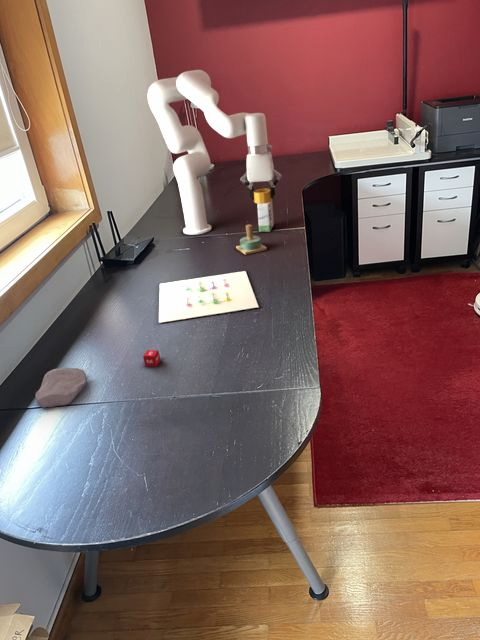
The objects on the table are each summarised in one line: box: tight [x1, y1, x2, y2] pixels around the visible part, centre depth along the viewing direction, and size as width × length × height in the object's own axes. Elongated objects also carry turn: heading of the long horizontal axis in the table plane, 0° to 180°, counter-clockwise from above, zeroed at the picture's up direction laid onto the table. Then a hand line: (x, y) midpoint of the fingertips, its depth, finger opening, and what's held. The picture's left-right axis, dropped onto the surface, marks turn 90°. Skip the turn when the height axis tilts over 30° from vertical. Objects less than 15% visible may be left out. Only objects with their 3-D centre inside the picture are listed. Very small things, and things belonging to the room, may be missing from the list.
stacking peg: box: [235, 224, 268, 256], centre depth 195 cm, size 9×9×9 cm
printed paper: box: [158, 270, 259, 324], centre depth 163 cm, size 30×30×2 cm
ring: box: [253, 188, 273, 204], centre depth 197 cm, size 7×7×4 cm
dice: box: [142, 349, 161, 367], centre depth 129 cm, size 3×3×3 cm
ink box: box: [256, 200, 275, 233], centre depth 214 cm, size 9×5×12 cm, turn 168°
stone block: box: [35, 367, 87, 409], centre depth 121 cm, size 12×5×10 cm
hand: (262, 197), depth 197 cm, fingers closed on ring, 6 cm apart
